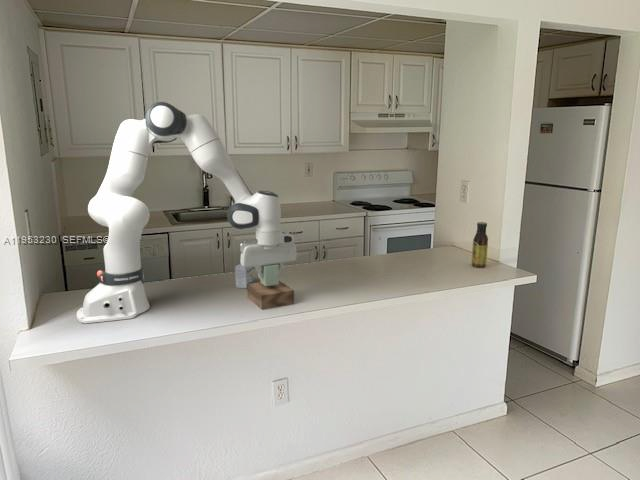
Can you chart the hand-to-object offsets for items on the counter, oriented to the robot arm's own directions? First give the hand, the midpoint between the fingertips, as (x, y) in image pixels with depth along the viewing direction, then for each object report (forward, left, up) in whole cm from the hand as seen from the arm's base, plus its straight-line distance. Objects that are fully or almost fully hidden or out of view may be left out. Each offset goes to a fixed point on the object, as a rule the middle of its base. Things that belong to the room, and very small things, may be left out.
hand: (269, 276), depth 168 cm
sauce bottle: (+99, -4, -9) cm, 100 cm away
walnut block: (0, 0, -9) cm, 9 cm away
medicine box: (-2, +21, -9) cm, 23 cm away
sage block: (0, 0, -3) cm, 3 cm away
